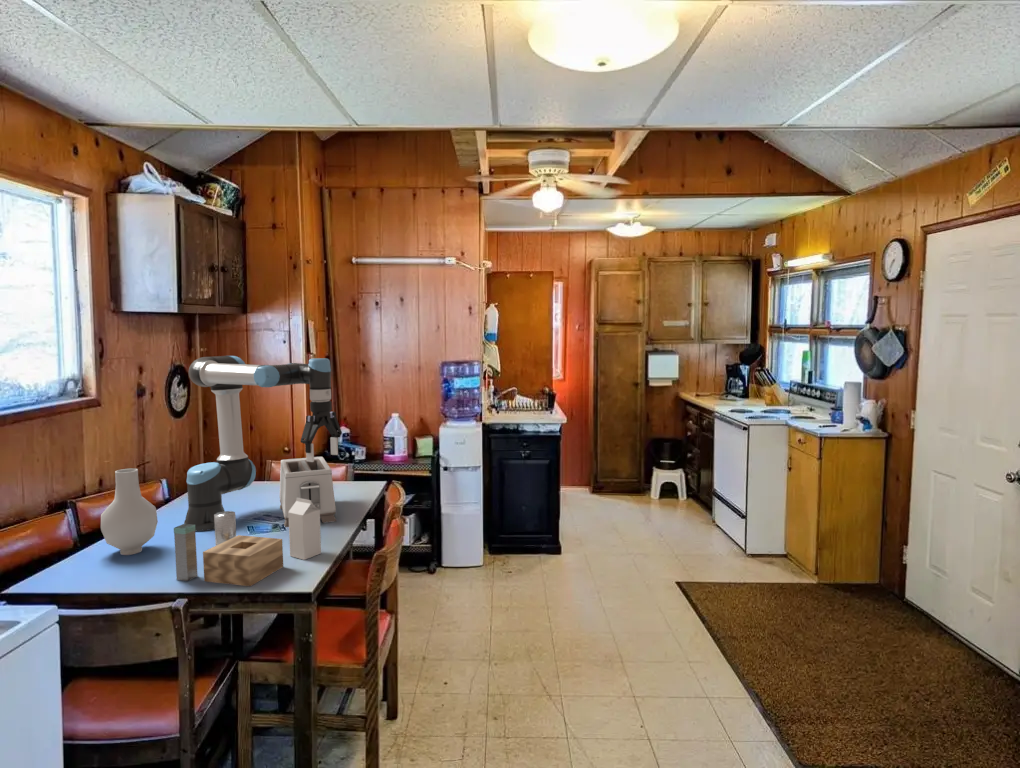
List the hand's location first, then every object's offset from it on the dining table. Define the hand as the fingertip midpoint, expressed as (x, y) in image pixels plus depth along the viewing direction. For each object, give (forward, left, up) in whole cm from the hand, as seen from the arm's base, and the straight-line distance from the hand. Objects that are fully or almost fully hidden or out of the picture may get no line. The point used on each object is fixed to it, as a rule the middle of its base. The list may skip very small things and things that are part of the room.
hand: (322, 458), depth 235 cm
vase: (-53, -35, -28) cm, 69 cm away
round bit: (-19, -30, -28) cm, 45 cm away
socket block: (-2, -43, -28) cm, 51 cm away
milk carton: (+7, -24, -28) cm, 38 cm away
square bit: (-17, -50, -28) cm, 60 cm away
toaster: (-19, +18, -28) cm, 38 cm away
